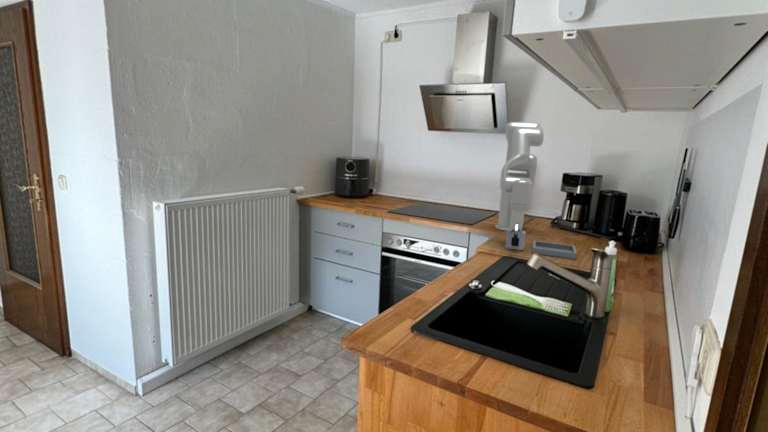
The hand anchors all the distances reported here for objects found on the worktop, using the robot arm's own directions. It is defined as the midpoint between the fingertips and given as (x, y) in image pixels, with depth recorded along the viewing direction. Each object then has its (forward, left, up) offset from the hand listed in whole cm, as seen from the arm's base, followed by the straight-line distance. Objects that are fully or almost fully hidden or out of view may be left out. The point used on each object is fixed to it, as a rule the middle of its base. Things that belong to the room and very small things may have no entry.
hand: (515, 243), depth 190 cm
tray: (-2, +17, -3) cm, 17 cm away
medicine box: (0, 0, -3) cm, 3 cm away
